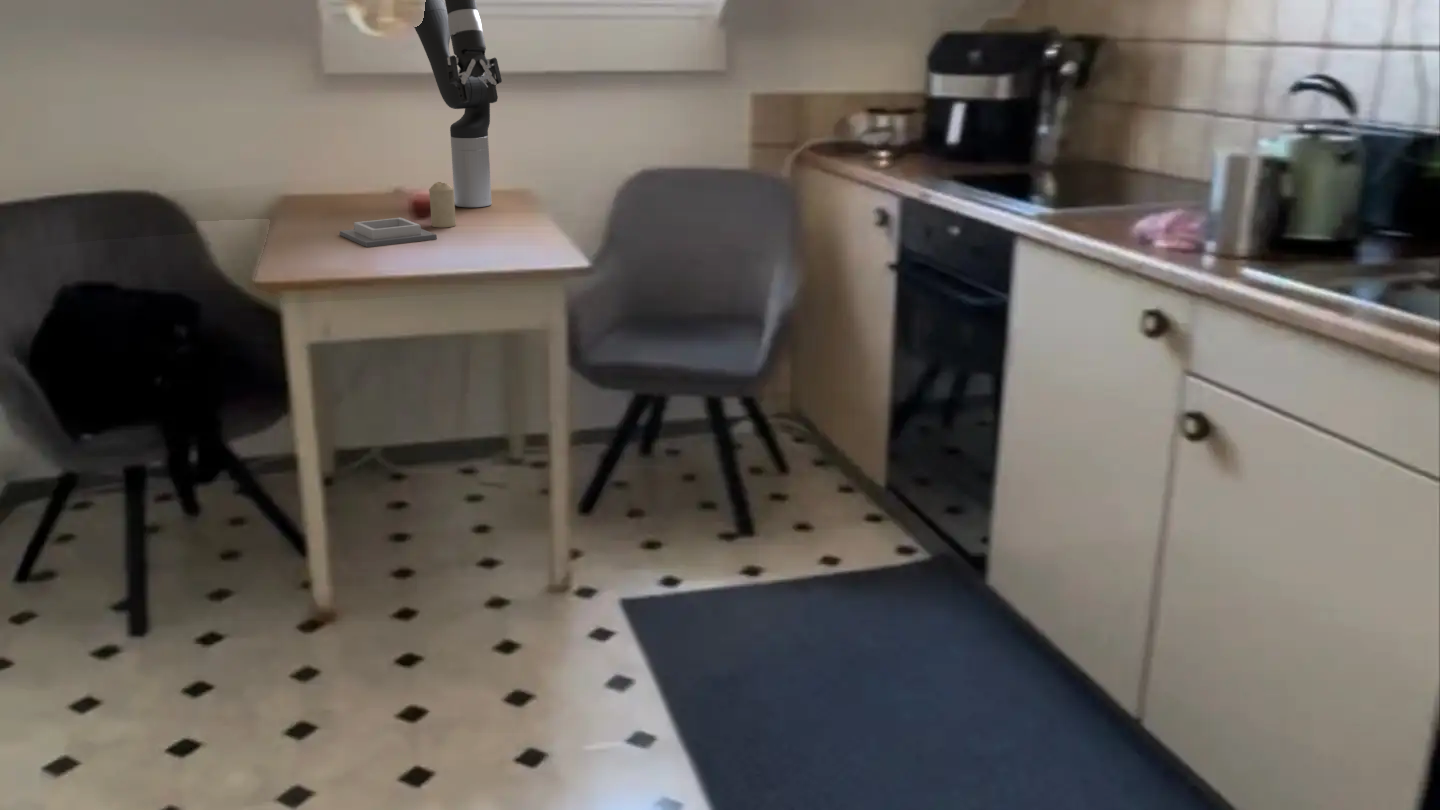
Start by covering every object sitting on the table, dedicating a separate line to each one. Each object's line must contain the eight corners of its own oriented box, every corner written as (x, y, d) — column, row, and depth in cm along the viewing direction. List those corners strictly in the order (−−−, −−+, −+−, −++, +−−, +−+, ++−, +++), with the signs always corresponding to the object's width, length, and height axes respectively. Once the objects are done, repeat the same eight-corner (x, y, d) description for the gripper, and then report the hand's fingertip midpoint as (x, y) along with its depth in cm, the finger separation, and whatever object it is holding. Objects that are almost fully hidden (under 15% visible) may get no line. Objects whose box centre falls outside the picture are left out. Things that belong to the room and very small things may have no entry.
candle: (460, 225, 289) (458, 182, 286) (440, 228, 285) (437, 185, 282) (446, 222, 293) (444, 180, 289) (426, 225, 289) (423, 182, 285)
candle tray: (339, 235, 277) (338, 221, 276) (407, 227, 286) (406, 214, 285) (366, 247, 265) (365, 233, 264) (436, 239, 274) (435, 225, 273)
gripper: (479, 38, 297) (492, 106, 299) (432, 35, 286) (445, 105, 288) (499, 30, 293) (512, 99, 294) (452, 26, 282) (466, 98, 283)
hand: (479, 102), depth 291 cm, fingers open, 8 cm apart
